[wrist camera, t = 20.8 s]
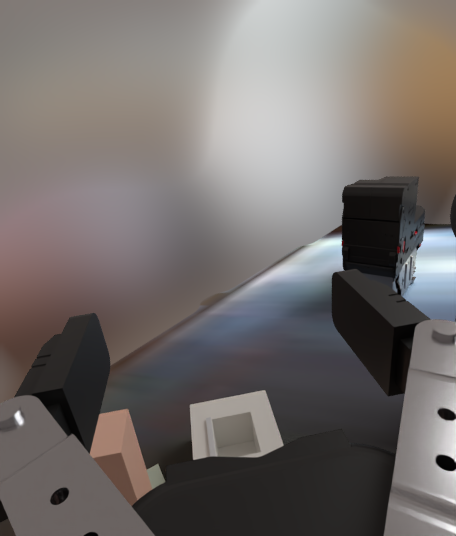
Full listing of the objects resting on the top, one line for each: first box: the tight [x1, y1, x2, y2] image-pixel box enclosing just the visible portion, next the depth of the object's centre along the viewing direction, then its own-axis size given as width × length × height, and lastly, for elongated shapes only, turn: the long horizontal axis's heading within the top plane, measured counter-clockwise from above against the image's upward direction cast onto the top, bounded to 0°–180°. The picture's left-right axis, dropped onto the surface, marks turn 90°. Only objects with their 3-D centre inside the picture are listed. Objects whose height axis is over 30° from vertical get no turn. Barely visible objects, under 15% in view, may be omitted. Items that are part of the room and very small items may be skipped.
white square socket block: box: [190, 390, 284, 460], centre depth 43 cm, size 12×10×6 cm
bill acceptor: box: [342, 177, 425, 296], centre depth 74 cm, size 10×23×25 cm, turn 142°
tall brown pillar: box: [90, 409, 152, 506], centre depth 36 cm, size 5×4×14 cm
